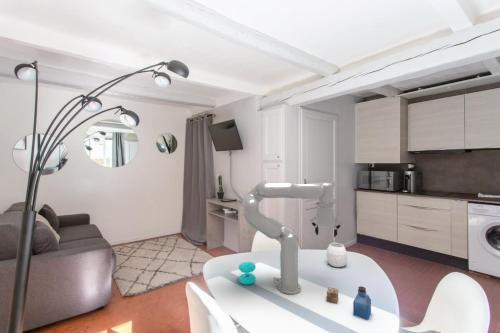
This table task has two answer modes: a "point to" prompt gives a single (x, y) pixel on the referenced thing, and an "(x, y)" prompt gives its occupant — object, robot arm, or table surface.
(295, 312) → the table surface
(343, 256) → the white jar
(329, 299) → the letter cube
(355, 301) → the perfume bottle
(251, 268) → the donuts
